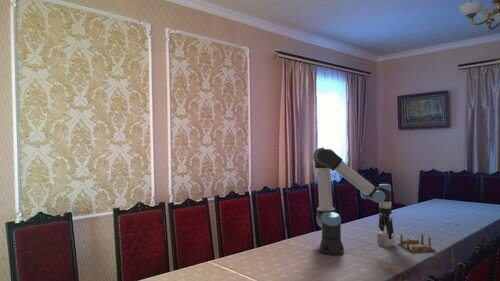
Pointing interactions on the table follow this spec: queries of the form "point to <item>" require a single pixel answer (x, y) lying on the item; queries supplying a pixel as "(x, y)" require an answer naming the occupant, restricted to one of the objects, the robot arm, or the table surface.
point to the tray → (415, 245)
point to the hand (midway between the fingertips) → (386, 241)
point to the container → (384, 236)
